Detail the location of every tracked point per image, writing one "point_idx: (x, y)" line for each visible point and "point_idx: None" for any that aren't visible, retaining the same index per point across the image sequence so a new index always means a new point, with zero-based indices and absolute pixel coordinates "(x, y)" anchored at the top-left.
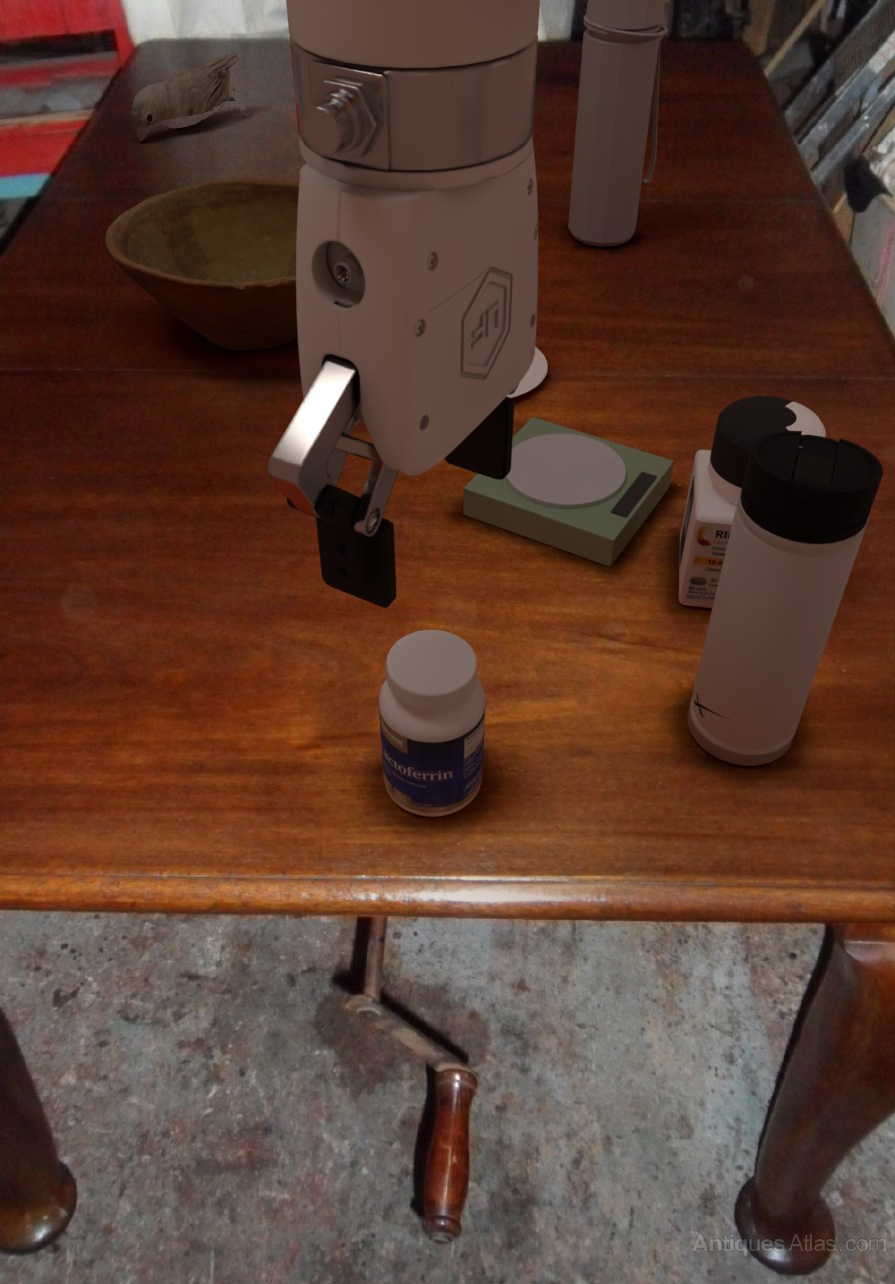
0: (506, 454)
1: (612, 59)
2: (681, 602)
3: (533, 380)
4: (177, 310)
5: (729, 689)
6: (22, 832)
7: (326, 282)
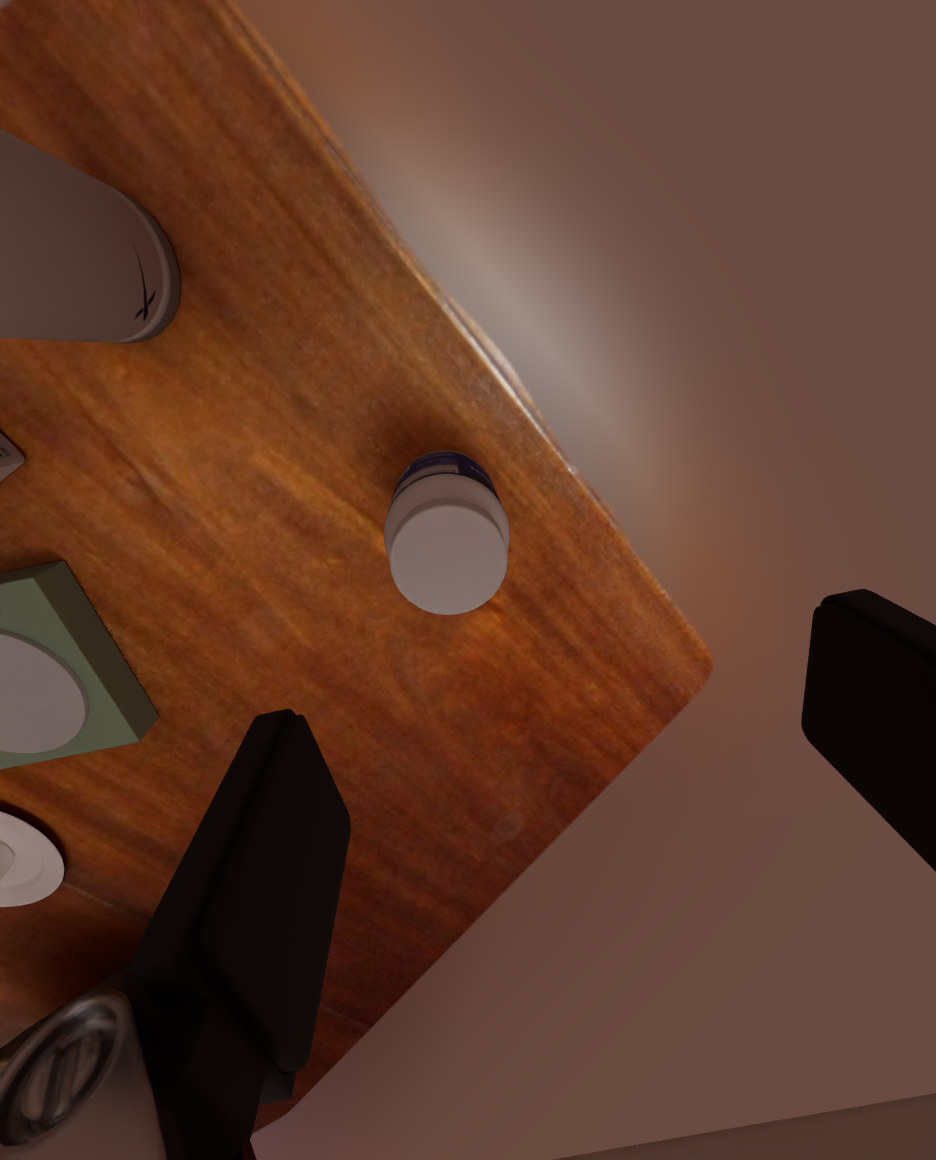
0: (260, 764)
1: None
2: (22, 458)
3: None
4: None
5: (102, 242)
6: (692, 689)
7: None
